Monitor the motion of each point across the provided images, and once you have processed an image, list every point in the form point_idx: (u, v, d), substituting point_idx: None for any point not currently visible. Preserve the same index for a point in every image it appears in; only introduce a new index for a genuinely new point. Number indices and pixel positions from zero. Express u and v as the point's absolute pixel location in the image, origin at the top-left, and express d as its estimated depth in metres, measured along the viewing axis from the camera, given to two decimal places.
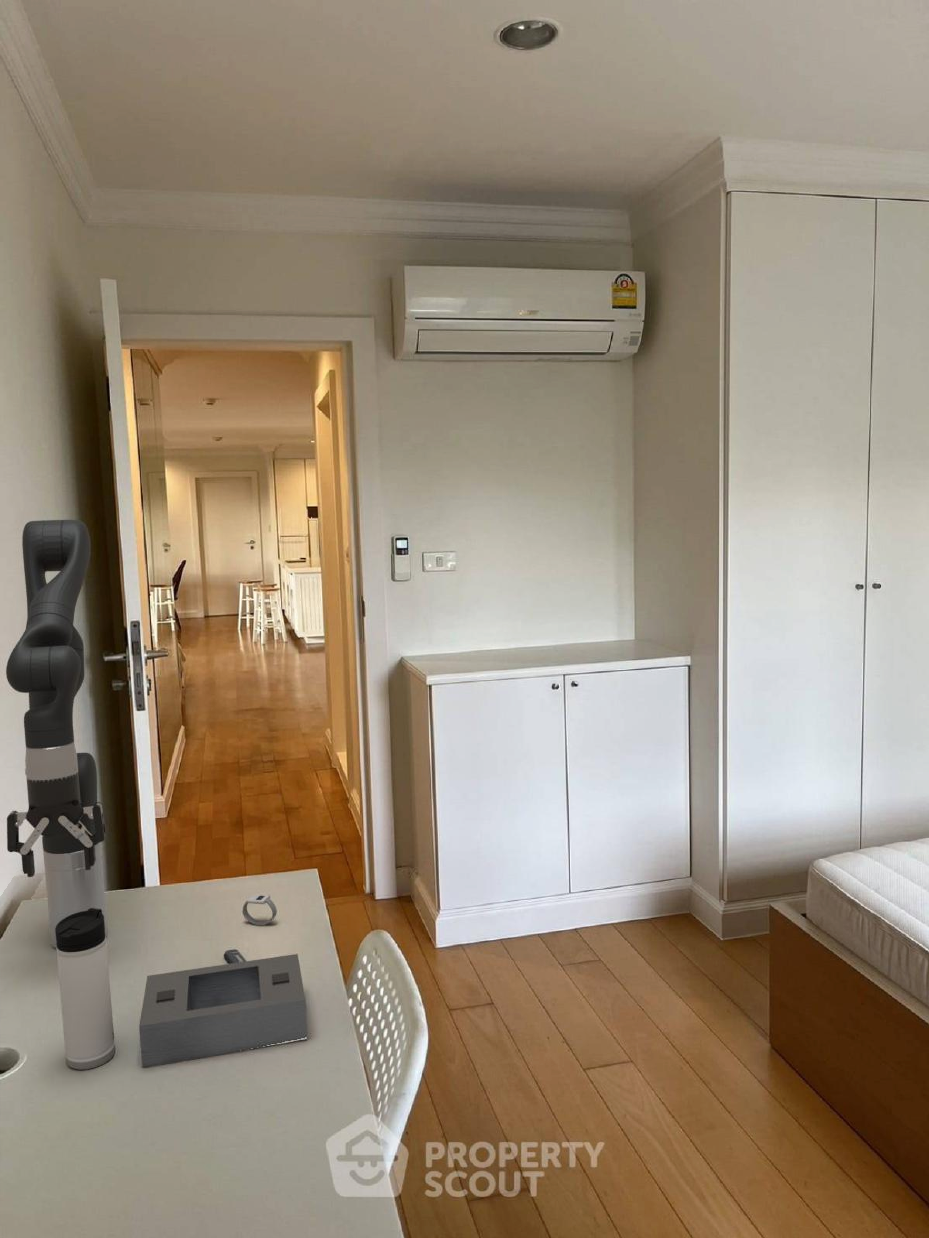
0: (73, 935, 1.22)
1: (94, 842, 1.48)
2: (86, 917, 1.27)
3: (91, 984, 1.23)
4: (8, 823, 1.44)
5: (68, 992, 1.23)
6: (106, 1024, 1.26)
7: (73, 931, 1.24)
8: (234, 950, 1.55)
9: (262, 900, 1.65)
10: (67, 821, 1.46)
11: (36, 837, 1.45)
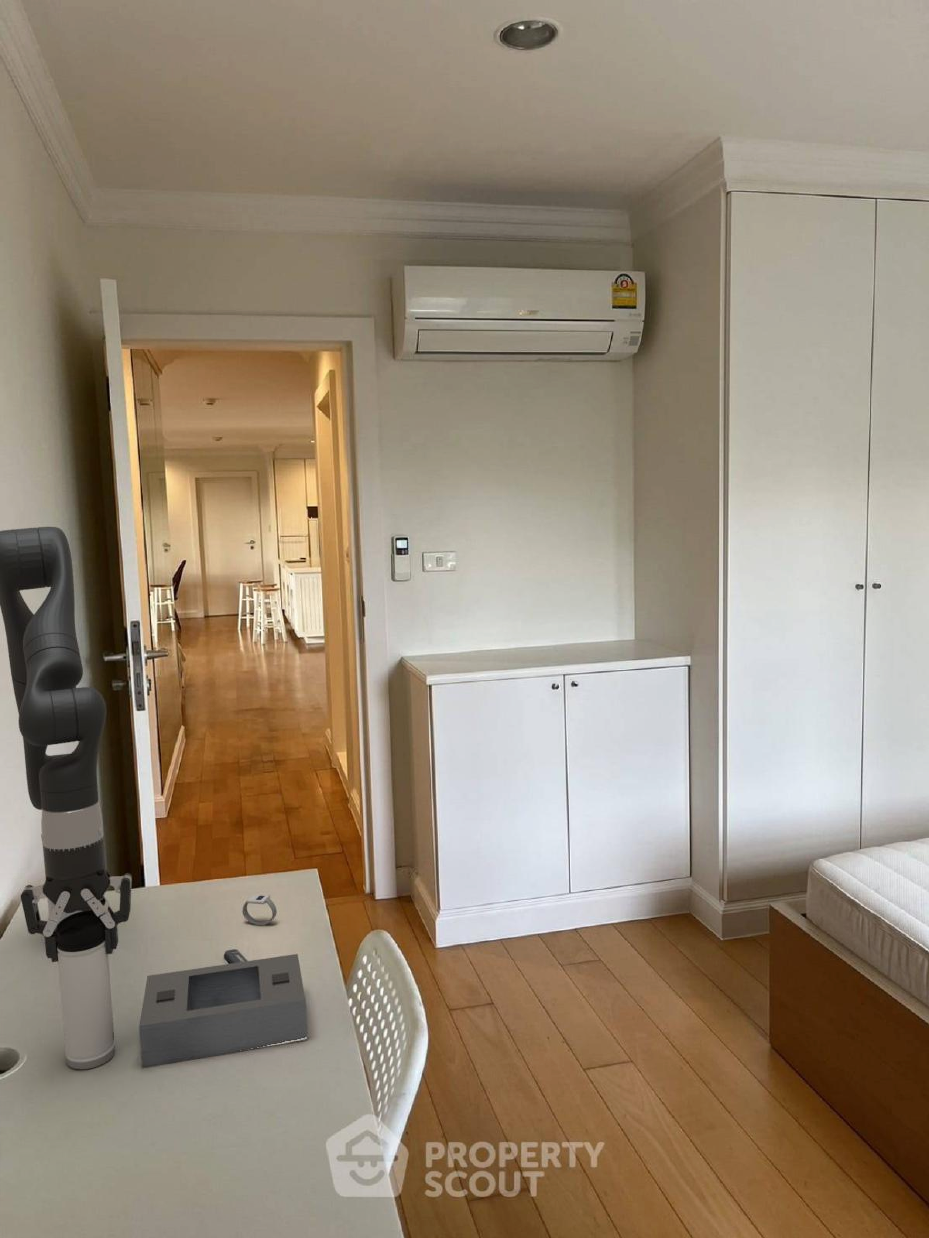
0: (74, 935, 1.22)
1: (117, 922, 1.26)
2: (87, 917, 1.27)
3: (92, 984, 1.23)
4: (23, 902, 1.22)
5: (68, 992, 1.23)
6: (106, 1024, 1.26)
7: (74, 931, 1.24)
8: (234, 950, 1.55)
9: (262, 900, 1.65)
10: (91, 896, 1.23)
11: (58, 915, 1.23)
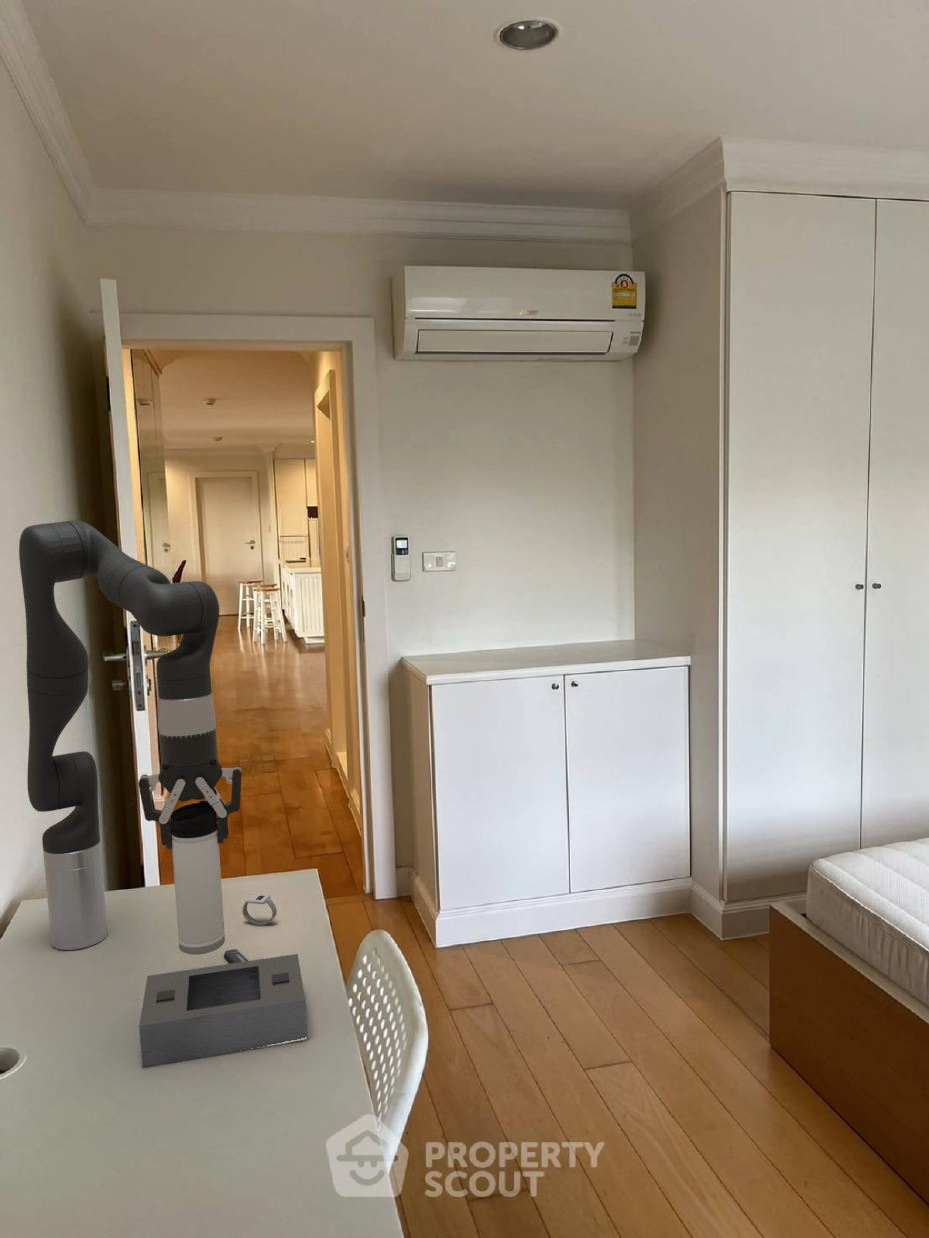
0: (189, 821, 1.26)
1: (228, 812, 1.29)
2: (198, 808, 1.31)
3: (205, 871, 1.27)
4: (141, 789, 1.26)
5: (183, 877, 1.27)
6: (218, 911, 1.29)
7: (188, 819, 1.27)
8: (234, 950, 1.55)
9: (262, 900, 1.65)
10: (205, 785, 1.27)
11: (174, 802, 1.26)
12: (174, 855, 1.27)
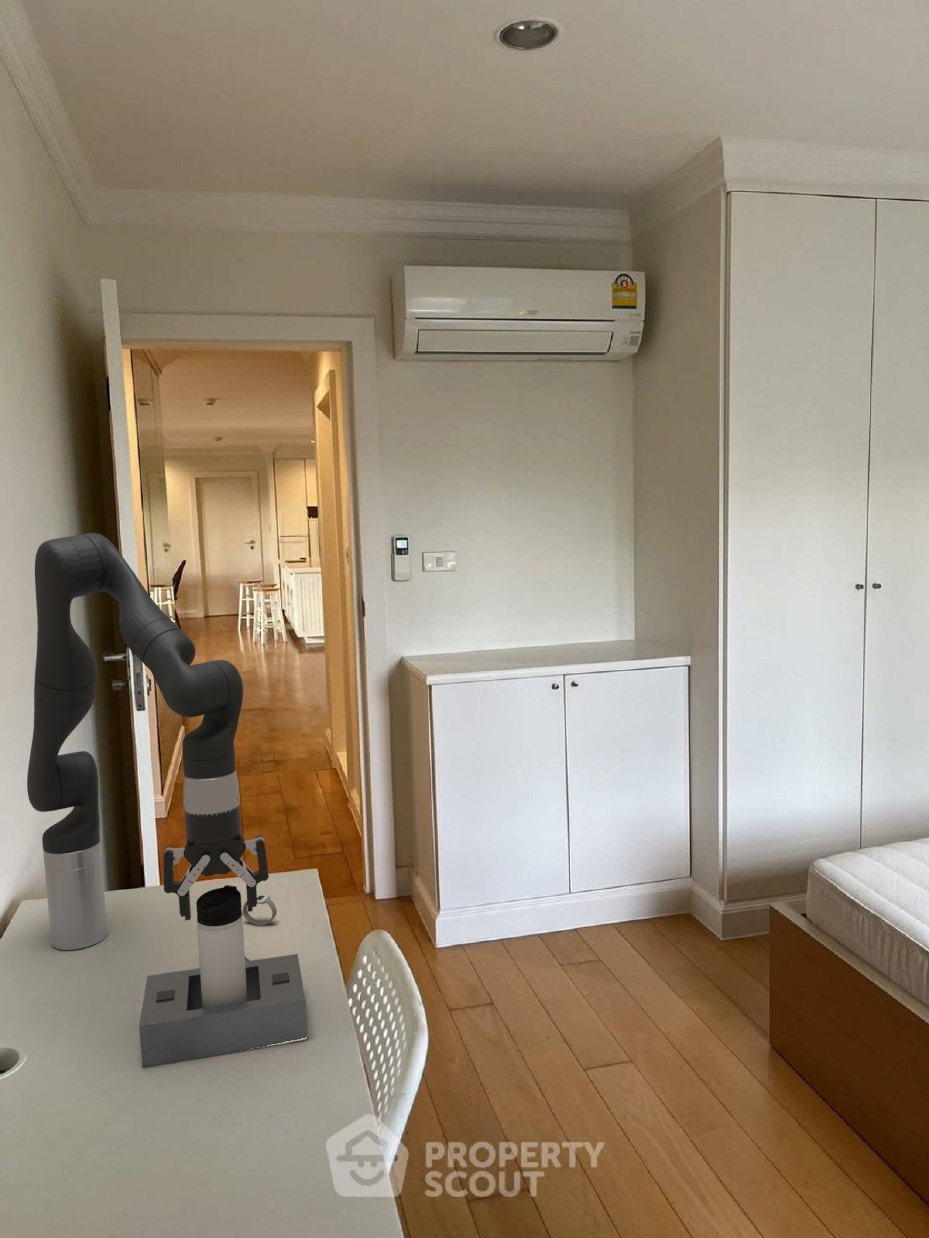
0: (215, 910, 1.29)
1: (257, 881, 1.32)
2: (222, 894, 1.33)
3: (231, 957, 1.30)
4: (165, 861, 1.28)
5: (209, 964, 1.29)
6: (242, 995, 1.32)
7: (214, 906, 1.30)
8: None
9: (262, 900, 1.65)
10: (230, 859, 1.29)
11: (196, 876, 1.29)
12: (200, 942, 1.30)
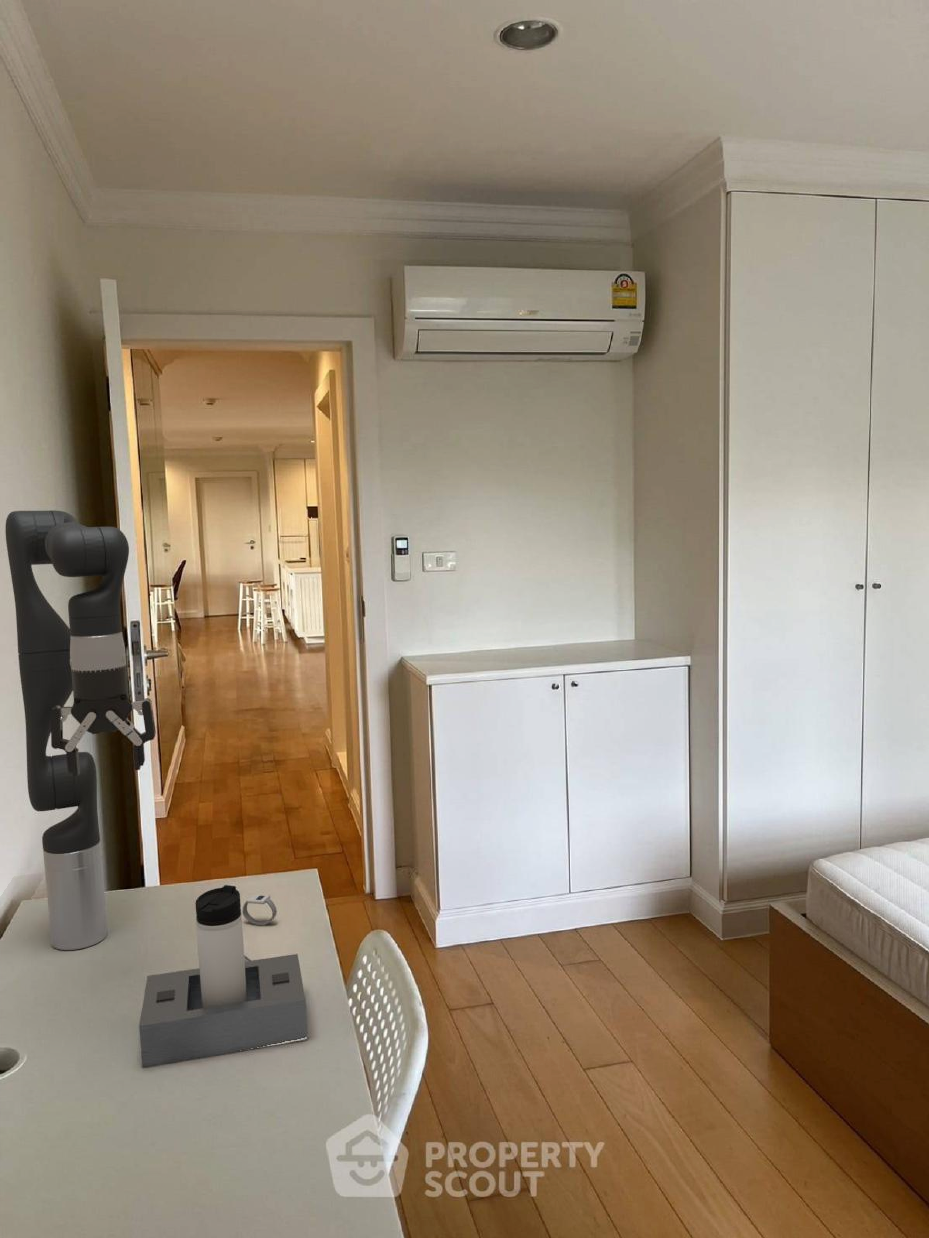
0: (214, 910, 1.29)
1: (144, 740, 1.38)
2: (222, 893, 1.34)
3: (230, 957, 1.30)
4: (52, 717, 1.33)
5: (209, 964, 1.30)
6: (242, 995, 1.32)
7: (213, 906, 1.30)
8: None
9: (262, 900, 1.65)
10: (116, 717, 1.35)
11: (82, 733, 1.34)
12: (199, 941, 1.30)
